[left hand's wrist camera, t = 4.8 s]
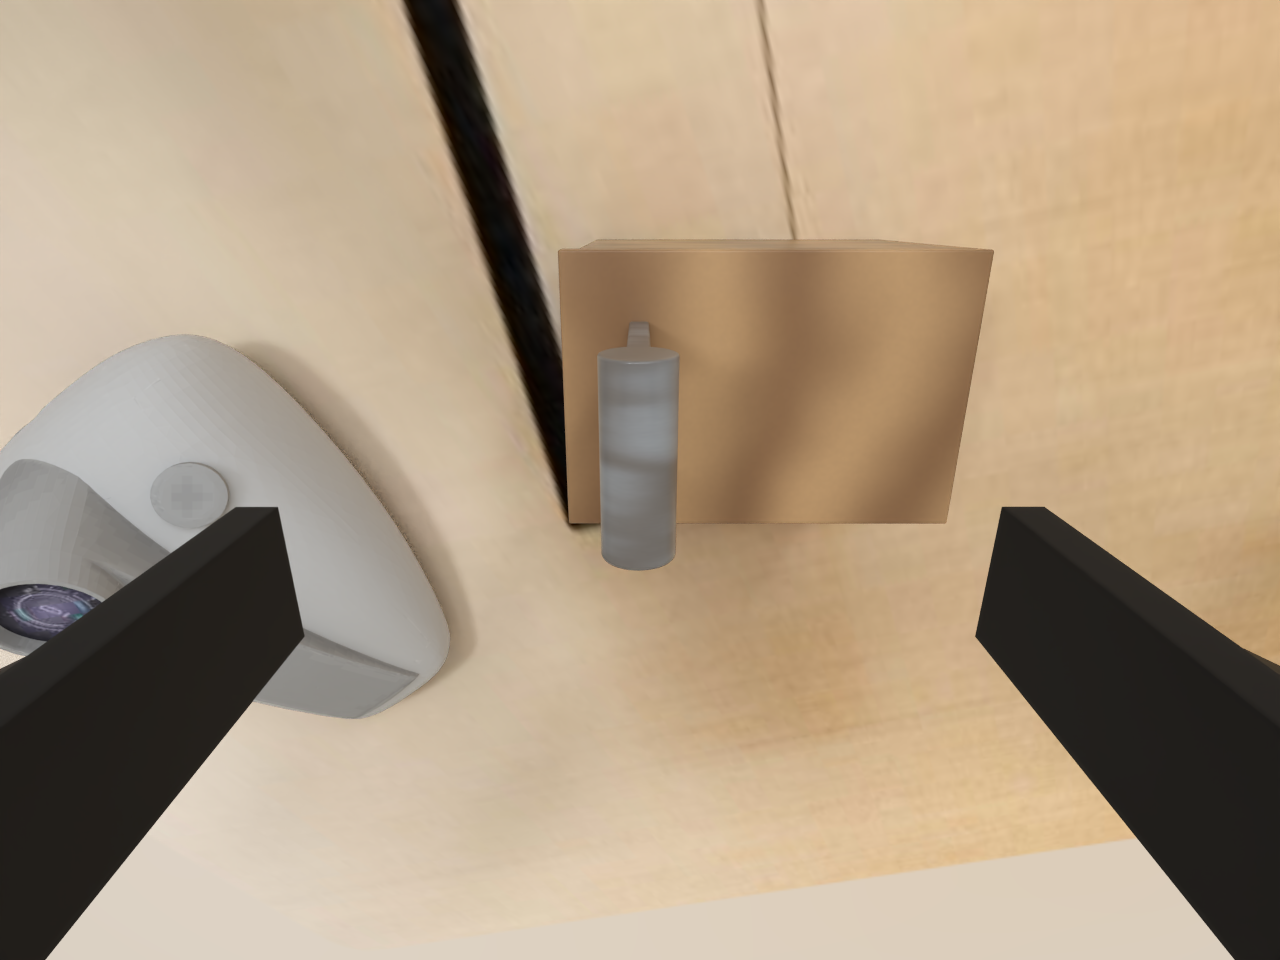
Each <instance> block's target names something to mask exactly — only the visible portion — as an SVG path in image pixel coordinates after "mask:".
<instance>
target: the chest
mask: <svg viewBox="0 0 1280 960" xmlns="http://www.w3.org/2000/svg"><path fill="white" fill-rule="evenodd" d="M580 249H977V248H965V247H954V246H943V245H932V244H920V243H909V242H898V241H887V240H595V241H594V242H592V243H590V244H588V245H586V246H584V247H582V248H580Z"/></svg>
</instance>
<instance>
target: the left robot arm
mask: <svg viewBox="0 0 1280 960" xmlns="http://www.w3.org/2000/svg"><path fill="white" fill-rule="evenodd" d="M304 637H305V635H304V631H303V626H302V621H301V616H300V611H299V606H298V601H297V597H296V592H295V587H294V582H293V577H292V572H291V567H290V563H289V558H288V553H287V548H286V543H285V538H284V533H283V529H282V524H281V519H280V514H279V509H278V507H235V508H234V509H232V510H231V511H229V512H228V513H227V514H225V515H224V516H222V517H221V518H219V519H218V520H217V521H215V522H214V523H212V524H211V525H210V526H208V527H207V528H205V529H204V530H203V531H201V532H200V533H198V534H197V535H196V536H194V537H193V538H191V539H190V540H189V541H187V542H186V543H184V544H183V545H182V546H180V547H179V548H177V549H176V550H175V551H173V552H172V553H170V554H169V555H168V556H166V557H165V558H163V559H162V560H161V561H159V562H158V563H156V564H155V565H154V566H152V567H151V568H149V569H148V570H147V571H145V572H144V573H142V574H141V575H140V576H138V577H137V578H135V579H134V580H133V581H131V582H130V583H128V584H127V585H126V586H124V587H123V588H121V589H120V590H119V591H117V592H116V593H114V594H113V595H112V596H110V597H109V598H107V599H106V600H105V601H103V602H102V603H100V604H99V605H97V606H96V607H95V608H93V609H92V610H90V611H89V612H88V613H86V614H85V615H83V616H82V617H81V618H79V619H78V620H76V621H75V622H74V623H72V624H71V625H69V626H68V627H67V628H65V629H64V630H62V631H61V632H60V633H58V634H57V635H55V636H54V637H53V638H51V639H50V640H48V641H47V642H46V643H44V644H43V645H41V646H40V647H39V648H37V649H36V650H34V651H33V652H32V653H30V654H29V655H27V656H26V657H24V658H22V659H20V660H18V661H16V662H14V663H12V664H9V665H7V666H5V667H3V668H1V669H0V960H45V959H46V958H47V957H48V956H49V954H50V953H51V952H52V951H53V949H54V948H55V947H56V946H57V944H58V943H59V942H60V941H61V939H62V938H63V937H64V936H65V935H66V933H67V932H68V931H69V930H70V928H71V927H72V926H73V925H74V923H75V922H76V921H77V920H78V918H79V917H80V916H81V915H82V913H83V912H84V911H85V910H86V908H87V907H88V906H89V905H90V903H91V902H92V901H93V900H94V898H95V897H96V896H97V895H98V893H99V892H100V891H101V890H102V888H103V887H104V886H105V885H106V883H107V882H108V881H109V880H110V878H111V877H112V876H113V875H114V873H115V872H116V871H117V870H118V869H119V867H120V866H121V865H122V864H123V862H124V861H125V860H126V859H127V857H128V856H129V855H130V854H131V852H132V851H133V850H134V849H135V847H136V846H137V845H138V844H139V842H140V841H141V840H142V839H143V837H144V836H145V835H146V834H147V832H148V831H149V830H150V829H151V827H152V826H153V825H154V824H155V822H156V821H157V820H158V819H159V817H160V816H161V815H162V814H163V812H164V811H165V810H166V809H167V807H168V806H169V805H170V804H171V802H172V801H173V800H174V799H175V797H176V796H177V795H178V794H179V792H180V791H181V790H182V789H183V788H184V786H185V785H186V784H187V783H188V781H189V780H190V779H191V778H192V776H193V775H194V774H195V773H196V771H197V770H198V769H199V768H200V766H201V765H202V764H203V763H204V761H205V760H206V759H207V758H208V756H209V755H210V754H211V753H212V751H213V750H214V749H215V748H216V746H217V745H218V744H219V743H220V741H221V740H222V739H223V738H224V736H225V735H226V734H227V733H228V731H229V730H230V729H231V728H232V726H233V725H234V724H235V723H236V721H237V720H238V719H239V718H240V716H241V715H242V714H243V713H244V711H245V710H246V709H247V708H248V707H249V705H250V704H251V703H252V702H253V700H254V699H255V698H256V697H257V695H258V694H259V693H260V692H261V690H262V689H263V688H264V687H265V685H266V684H267V683H268V682H269V680H270V679H271V678H272V677H273V675H274V674H275V673H276V672H277V670H278V669H279V668H280V667H281V665H282V664H283V663H284V662H285V660H286V659H287V658H288V657H289V655H290V654H291V653H292V652H293V650H294V649H295V648H296V647H297V645H298V644H299V643H300V642H301V640H302V639H303V638H304ZM975 637H976V638H977V639H978V640H979V642H980V643H981V644H982V645H983V647H984V648H985V649H986V650H987V652H988V653H989V654H990V655H991V657H992V658H993V659H994V660H995V662H996V663H997V664H998V665H999V667H1000V668H1001V669H1002V670H1003V672H1004V673H1005V674H1006V675H1007V677H1008V678H1009V679H1010V680H1011V682H1012V683H1013V684H1014V685H1015V687H1016V688H1017V689H1018V690H1019V692H1020V693H1021V694H1022V695H1023V697H1024V698H1025V699H1026V700H1027V702H1028V703H1029V704H1030V705H1031V707H1032V708H1033V709H1034V710H1035V711H1036V713H1037V714H1038V715H1039V716H1040V718H1041V719H1042V720H1043V721H1044V723H1045V724H1046V725H1047V726H1048V728H1049V729H1050V730H1051V731H1052V733H1053V734H1054V735H1055V736H1056V738H1057V739H1058V740H1059V741H1060V743H1061V744H1062V745H1063V746H1064V748H1065V749H1066V750H1067V751H1068V753H1069V754H1070V755H1071V756H1072V758H1073V759H1074V760H1075V761H1076V763H1077V764H1078V765H1079V766H1080V768H1081V769H1082V770H1083V771H1084V773H1085V774H1086V775H1087V776H1088V778H1089V779H1090V780H1091V781H1092V783H1093V784H1094V785H1095V786H1096V788H1097V789H1098V790H1099V791H1100V792H1101V794H1102V795H1103V796H1104V797H1105V799H1106V800H1107V801H1108V802H1109V804H1110V805H1111V806H1112V807H1113V809H1114V810H1115V811H1116V812H1117V814H1118V815H1119V816H1120V817H1121V819H1122V820H1123V821H1124V822H1125V824H1126V825H1127V826H1128V827H1129V829H1130V830H1131V831H1132V832H1133V834H1134V835H1135V836H1136V837H1137V839H1138V840H1139V841H1140V842H1141V844H1142V845H1143V846H1144V847H1145V849H1146V850H1147V851H1148V852H1149V854H1150V855H1151V856H1152V857H1153V859H1154V860H1155V861H1156V862H1157V863H1158V865H1159V866H1160V867H1161V869H1162V870H1163V871H1164V872H1165V873H1166V875H1167V876H1168V877H1169V878H1170V880H1171V881H1172V882H1173V883H1174V885H1175V886H1176V887H1177V888H1178V890H1179V891H1180V892H1181V893H1182V895H1183V896H1184V897H1185V898H1186V900H1187V901H1188V902H1189V903H1190V905H1191V906H1192V907H1193V908H1194V910H1195V911H1196V912H1197V913H1198V915H1199V916H1200V917H1201V918H1202V920H1203V921H1204V922H1205V923H1206V925H1207V926H1208V927H1209V928H1210V930H1211V931H1212V932H1213V933H1214V935H1215V936H1216V937H1217V938H1218V940H1219V941H1220V942H1221V943H1222V945H1223V946H1224V947H1225V948H1226V950H1227V951H1228V952H1229V953H1230V954H1231V956H1232V957H1233V958H1234V959H1235V960H1280V666H1279V665H1277V664H1275V663H1273V662H1271V661H1269V660H1266V659H1264V658H1262V657H1260V656H1258V655H1256V654H1254V653H1252V652H1250V651H1248V650H1246V649H1243V648H1241V647H1240V646H1239V645H1237V644H1236V643H1234V642H1233V641H1232V640H1230V639H1229V638H1227V637H1226V636H1225V635H1223V634H1222V633H1220V632H1219V631H1218V630H1216V629H1215V628H1213V627H1212V626H1211V625H1209V624H1208V623H1206V622H1205V621H1204V620H1202V619H1201V618H1199V617H1198V616H1197V615H1195V614H1194V613H1192V612H1191V611H1190V610H1188V609H1187V608H1185V607H1184V606H1183V605H1181V604H1180V603H1178V602H1177V601H1175V600H1174V599H1173V598H1171V597H1170V596H1168V595H1167V594H1166V593H1164V592H1163V591H1161V590H1160V589H1159V588H1157V587H1156V586H1154V585H1153V584H1152V583H1150V582H1149V581H1147V580H1146V579H1145V578H1143V577H1142V576H1140V575H1139V574H1138V573H1136V572H1135V571H1133V570H1132V569H1131V568H1129V567H1128V566H1126V565H1125V564H1124V563H1122V562H1121V561H1119V560H1118V559H1117V558H1115V557H1114V556H1112V555H1111V554H1110V553H1108V552H1107V551H1105V550H1104V549H1103V548H1101V547H1100V546H1098V545H1097V544H1096V543H1094V542H1093V541H1091V540H1090V539H1089V538H1087V537H1086V536H1084V535H1083V534H1082V533H1080V532H1079V531H1077V530H1076V529H1075V528H1073V527H1072V526H1070V525H1069V524H1068V523H1066V522H1065V521H1063V520H1062V519H1061V518H1059V517H1058V516H1056V515H1055V514H1053V513H1052V512H1051V511H1049V510H1048V509H1046V508H1045V507H1002V509H1001V514H1000V519H999V524H998V529H997V533H996V538H995V543H994V548H993V553H992V558H991V563H990V567H989V572H988V577H987V582H986V587H985V592H984V597H983V601H982V606H981V611H980V616H979V621H978V626H977V631H976V635H975Z"/></svg>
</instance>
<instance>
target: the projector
mask: <svg viewBox="0 0 1280 960" xmlns="http://www.w3.org/2000/svg"><path fill="white" fill-rule="evenodd" d="M235 507H278V509H279V514H280V519H281V524H282V529H283V533H284V538H285V543H286V548H287V553H288V558H289V563H290V567H291V572H292V577H293V582H294V587H295V592H296V597H297V601H298V606H299V611H300V616H301V621H302V626H303V631H304V635H305V637H304V638H303V639H302V640H301V642H300V643H299V644H298V645H297V647H296V648H295V649H294V650H293V652H292V653H291V654H290V655H289V657H288V658H287V659H286V660H285V662H284V663H283V664H282V665H281V667H280V668H279V669H278V670H277V672H276V673H275V674H274V675H273V677H272V678H271V679H270V680H269V682H268V683H267V684H266V685H265V687H264V688H263V689H262V690H261V692H260V693H259V694H258V695H257V697H256V698H255V699H254V700H253V702H257V703H262V704H266V705H271V706H275V707H280V708H284V709H289V710H295V711H300V712H306V713H311V714H317V715H322V716H329V717H337V718H345V719H360V718H365V717H369V716H372V715H375V714H377V713H380V712H382V711H384V710H386V709H387V708H389V707H391V706H393V705H394V704H396V703H398V702H399V701H401V700H402V699H404V698H405V697H407V696H408V695H410V694H411V693H413V692H414V691H416V690H417V689H419V688H420V687H421V686H423V685H424V684H425V683H426V682H428V681H429V680H430V679H431V678H432V677H433V676H434V675H435V674H436V673H437V672H438V671H439V670H440V668H441V667H442V666H443V664H444V662H445V660H446V658H447V655H448V651H449V647H450V632H449V628H448V624H447V622H446V619H445V616H444V613H443V611H442V608H441V606H440V604H439V602H438V600H437V597H436V595H435V593H434V591H433V589H432V587H431V585H430V583H429V581H428V579H427V577H426V575H425V573H424V571H423V569H422V568H421V566H420V564H419V562H418V561H417V559H416V557H415V555H414V554H413V552H412V550H411V548H410V547H409V545H408V543H407V542H406V540H405V538H404V537H403V535H402V534H401V532H400V530H399V529H398V527H397V526H396V524H395V523H394V521H393V520H392V518H391V517H390V515H389V514H388V512H387V511H386V509H385V508H384V506H383V505H382V504H381V502H380V501H379V499H378V498H377V497H376V495H375V494H374V493H373V491H372V490H371V489H370V487H369V486H368V485H367V483H366V482H365V481H364V479H363V478H362V477H361V475H360V474H359V473H358V472H357V470H356V469H355V468H354V467H353V465H352V464H351V463H350V462H349V460H348V459H347V458H346V457H345V456H344V454H343V453H342V452H341V451H340V449H339V448H338V447H337V446H336V445H335V444H334V443H333V441H332V440H331V439H330V438H329V437H328V436H327V434H326V433H325V432H324V431H323V430H322V429H321V428H320V426H319V425H318V424H317V423H316V422H315V421H314V420H313V419H312V418H311V417H310V416H309V414H308V413H307V412H306V411H305V410H304V409H303V408H302V407H301V406H300V405H299V404H298V403H297V402H296V401H295V400H294V399H293V398H292V397H291V396H290V395H289V394H288V393H287V392H286V391H285V390H284V389H283V388H282V387H281V386H280V385H279V384H278V383H277V382H276V381H275V380H274V379H273V378H271V377H270V376H269V375H268V374H267V373H266V372H265V371H264V370H263V369H261V368H260V367H259V366H257V365H256V364H255V363H254V362H252V361H251V360H250V359H248V358H247V357H246V356H244V355H243V354H241V353H239V352H238V351H236V350H235V349H233V348H231V347H230V346H227V345H225V344H223V343H221V342H219V341H216V340H213V339H210V338H207V337H202V336H197V335H171V336H166V337H161V338H156V339H152V340H149V341H146V342H143V343H140V344H137V345H134V346H132V347H130V348H127V349H125V350H123V351H121V352H119V353H117V354H115V355H113V356H111V357H110V358H108V359H106V360H105V361H103V362H101V363H100V364H98V365H97V366H95V367H94V368H92V369H91V370H90V371H88V372H87V373H85V374H84V375H83V376H81V377H80V378H79V379H78V380H76V381H75V382H74V383H72V384H71V385H70V386H69V387H67V388H66V389H65V390H64V391H62V392H61V393H60V394H59V395H58V396H56V397H55V398H54V399H53V400H52V401H51V402H49V403H48V404H47V405H46V406H45V407H44V408H43V409H42V410H41V411H40V412H39V414H38V415H37V416H36V417H35V418H34V419H33V420H32V421H31V422H30V423H29V424H27V425H26V426H24V427H23V428H22V429H21V430H20V431H18V432H17V433H16V434H15V435H14V437H13V438H12V439H11V440H10V441H9V442H8V443H7V444H6V446H5V447H4V448H3V449H2V450H1V451H0V649H3V650H6V651H8V652H11V653H14V654H18V655H23V656H27V655H29V654H30V653H32V652H33V651H34V650H36V649H37V648H39V647H40V646H41V645H43V644H44V643H46V642H47V641H48V640H50V639H51V638H53V637H54V636H55V635H57V634H58V633H60V632H61V631H62V630H64V629H65V628H67V627H68V626H69V625H71V624H72V623H74V622H75V621H76V620H78V619H79V618H81V617H82V616H83V615H85V614H86V613H88V612H89V611H90V610H92V609H93V608H95V607H96V606H97V605H99V604H100V603H102V602H103V601H105V600H106V599H107V598H109V597H110V596H112V595H113V594H114V593H116V592H117V591H119V590H120V589H121V588H123V587H124V586H126V585H127V584H128V583H130V582H131V581H133V580H134V579H135V578H137V577H138V576H140V575H141V574H142V573H144V572H145V571H147V570H148V569H149V568H151V567H152V566H154V565H155V564H156V563H158V562H159V561H161V560H162V559H163V558H165V557H166V556H168V555H169V554H170V553H172V552H173V551H175V550H176V549H177V548H179V547H180V546H182V545H183V544H184V543H186V542H187V541H189V540H190V539H191V538H193V537H194V536H196V535H197V534H198V533H200V532H201V531H203V530H204V529H205V528H207V527H208V526H210V525H211V524H212V523H214V522H215V521H217V520H218V519H219V518H221V517H222V516H224V515H225V514H227V513H228V512H229V511H231V510H232V509H234V508H235Z"/></svg>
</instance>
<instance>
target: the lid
mask: <svg viewBox="0 0 1280 960" xmlns="http://www.w3.org/2000/svg"><path fill="white" fill-rule="evenodd" d="M993 254H994V251H993V250H989V249H561V250H559V251H558V262H559V287H560V312H561V336H562V361H563V386H564V410H565V435H566V460H567V485H568V509H569V522H570V523H601V550H602V556H603V558H604V560H605V561H606V562H608V563H609V564H611V565H613V566H615V567H618V568H622V569H627V570H650V569H655V568H659V567H662V566H664V565H666V564H668V563H669V562H671V561H672V560H673V558H674V556H675V553H676V523H946V521H947V515H948V510H949V504H950V498H951V493H952V487H953V481H954V476H955V470H956V464H957V458H958V453H959V447H960V441H961V436H962V430H963V424H964V419H965V413H966V407H967V402H968V396H969V390H970V385H971V379H972V373H973V368H974V362H975V356H976V351H977V345H978V339H979V333H980V328H981V322H982V316H983V311H984V305H985V299H986V294H987V288H988V282H989V277H990V271H991V265H992V260H993Z"/></svg>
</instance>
